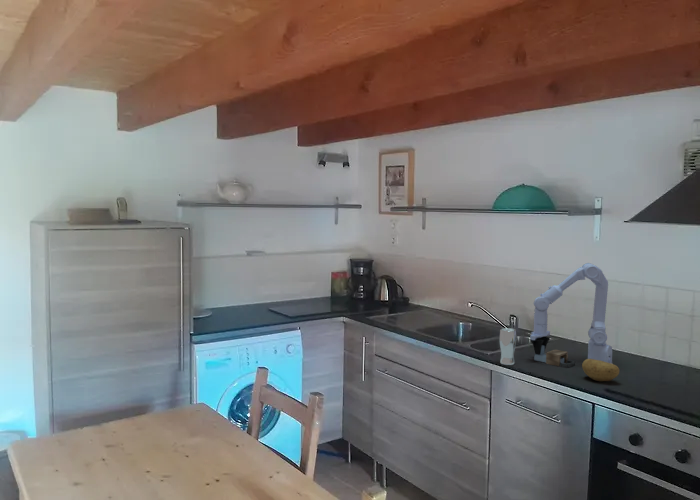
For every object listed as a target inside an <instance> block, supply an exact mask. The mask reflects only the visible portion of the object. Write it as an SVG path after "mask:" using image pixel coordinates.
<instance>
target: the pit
mask: <svg viewBox="0 0 700 500" xmlns="http://www.w3.org/2000/svg"><path fill="white" fill-rule="evenodd" d="M575 365H576V361H573V360H569V359H568V360H567V363H560V366H559V367H562V368H571V367H573V366H575Z"/></svg>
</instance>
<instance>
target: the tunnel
mask: <svg viewBox="0 0 700 500" xmlns="http://www.w3.org/2000/svg"><path fill="white" fill-rule="evenodd" d="M545 352H546V351H545ZM545 354H546V362H545V364H546V365H550V366H555V367H561V366H560V357H562V358H564V364H566V363H567V360H569V355H568V354H569V352H568V351H565V350H559V349H552V350H550V351H547V352H546V353H545Z"/></svg>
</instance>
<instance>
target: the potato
mask: <svg viewBox="0 0 700 500" xmlns="http://www.w3.org/2000/svg"><path fill="white" fill-rule="evenodd" d="M581 364H582V365H581V366H582V368H581V369H582V370H583V372H584V374H585V375H587V376H588V377H589V378H590V379H592V380H593V381H597V382H611V381H612V380H614V379H615V378H617V377H618V376H619V374H620V368H619V367H618V365H616V364H614V363H613V364H611V363H607V362H604V361H600V360H595V359H588V358H586V359H584V360H583V362H582V363H581Z"/></svg>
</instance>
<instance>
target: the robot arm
mask: <svg viewBox="0 0 700 500" xmlns="http://www.w3.org/2000/svg"><path fill="white" fill-rule="evenodd" d="M586 278H587V279H588V280H590V281H591V282H592V283H593V284H594V285H595V292H594V303H593V313H592V314H593V315H592V320H591V321H592V322H591V323H590V328H589V329H588V331H587V333H588V337H589V338H590V339H589V340H588V343H587V344H588V345H587V359H595V360H600V361H604V362H607V363H611V364H614V363H613V347H612V346H611V345H609V344H607V340H608V335H607V333H606V323H605V322H606V314H607V313H606V312H607V310H606V309H607V300H608V291H609V281H608V279H607V278H606V276H605V274H604V273H603V270H602V269H601V268H600V267H598V266H597V265H594V264H593V263H590V262H587V263H585V264H583V265H582V266H579V267H578V268H577V269H576V270H574V271H573V272H572V273H570V274H569V275H568V276H567V277H566V278H565V279H564V280H562V281H561V282H560V283H559V284H558V285H554V284H553V285H550V286H548V289H547V290H546V291H545V292H543V293H542V292H541V293H540V294H539V296H537V297H536V298H535V299H534V301H533V306H534V313H533V331H531V332H530V335H529V340H530V342H531V344H532V346H533V350H534V355H535V354H538V355H540V353H541V347H542V345H544V346H545V351H544V353H545V352H546V348H547V345H548V343H549V341H550V337H549V336H550V335H551V331H549V330H548V315H549V314H548V310H549V307H550V305H552V304H554V303H555V302H556V301H557V300H558V299H560V298H561V297H562V296H563V292H564V291H565V290H567V288H569V287H571V286H572V285H573V284H575V283H576V282H577V281H583V280H586Z"/></svg>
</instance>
